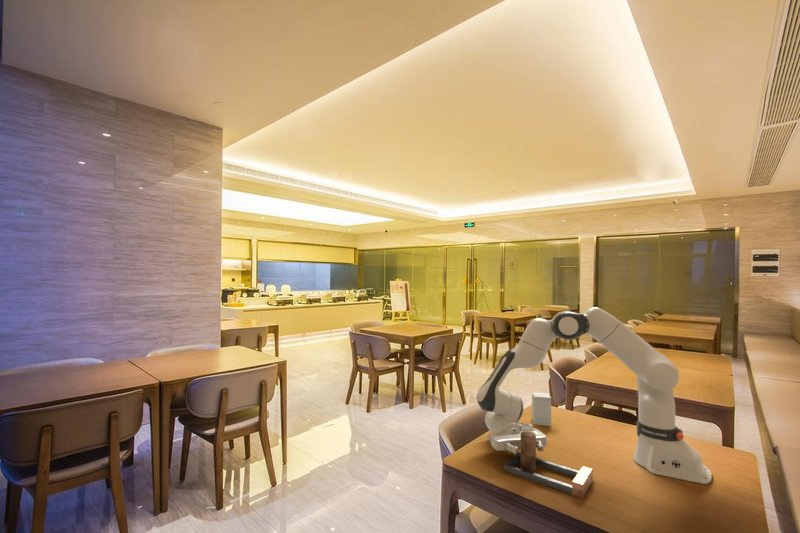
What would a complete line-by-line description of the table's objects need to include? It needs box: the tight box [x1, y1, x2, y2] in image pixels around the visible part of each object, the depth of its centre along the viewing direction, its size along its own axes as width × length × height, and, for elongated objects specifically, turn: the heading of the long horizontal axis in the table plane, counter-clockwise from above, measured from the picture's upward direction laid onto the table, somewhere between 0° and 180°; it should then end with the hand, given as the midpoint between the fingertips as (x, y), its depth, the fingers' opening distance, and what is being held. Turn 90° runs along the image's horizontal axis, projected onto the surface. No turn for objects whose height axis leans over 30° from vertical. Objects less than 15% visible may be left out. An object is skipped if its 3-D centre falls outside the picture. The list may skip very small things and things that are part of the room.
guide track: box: [503, 452, 594, 499], centre depth 129 cm, size 25×12×4 cm, turn 51°
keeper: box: [520, 432, 537, 473], centre depth 133 cm, size 5×5×12 cm
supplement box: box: [531, 392, 552, 427], centre depth 176 cm, size 7×7×13 cm
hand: (529, 450), depth 133 cm, fingers open, 8 cm apart
